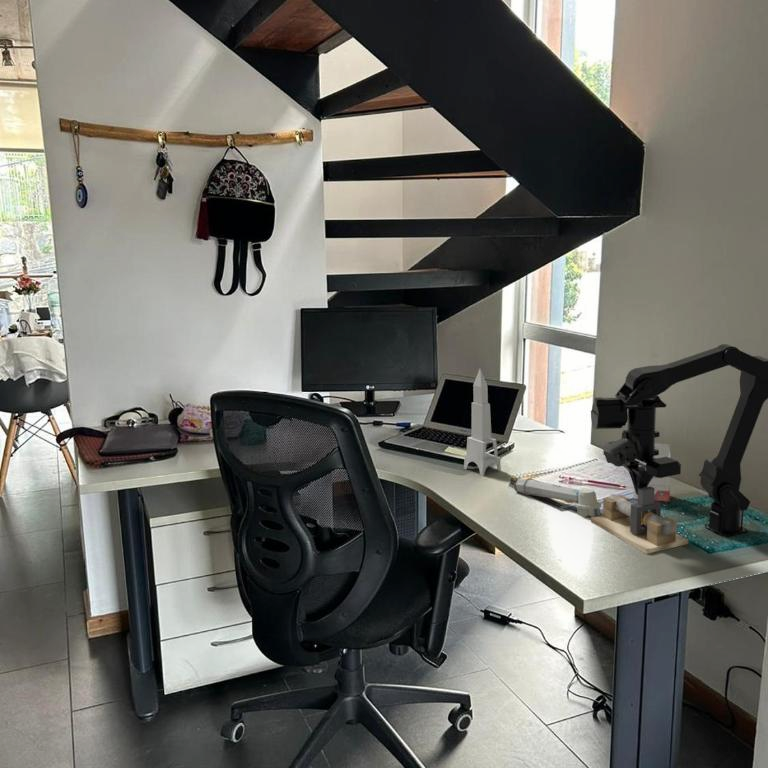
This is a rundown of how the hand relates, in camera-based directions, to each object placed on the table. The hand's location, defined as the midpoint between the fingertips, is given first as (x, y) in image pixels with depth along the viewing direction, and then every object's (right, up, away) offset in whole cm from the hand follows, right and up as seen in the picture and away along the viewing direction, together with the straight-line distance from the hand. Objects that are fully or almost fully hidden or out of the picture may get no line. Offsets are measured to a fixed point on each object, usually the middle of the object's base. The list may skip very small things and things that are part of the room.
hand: (639, 494), depth 160 cm
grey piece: (-13, -6, +21) cm, 26 cm away
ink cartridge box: (+11, -4, +22) cm, 25 cm away
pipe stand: (0, -9, +2) cm, 9 cm away
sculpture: (-28, 0, +49) cm, 56 cm away
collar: (+1, -8, 0) cm, 8 cm away
